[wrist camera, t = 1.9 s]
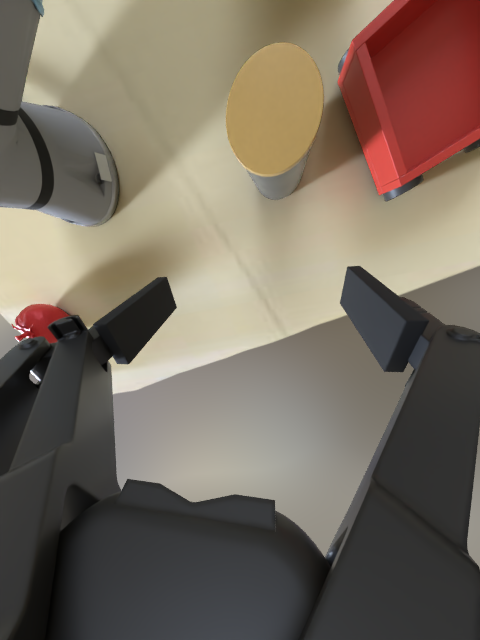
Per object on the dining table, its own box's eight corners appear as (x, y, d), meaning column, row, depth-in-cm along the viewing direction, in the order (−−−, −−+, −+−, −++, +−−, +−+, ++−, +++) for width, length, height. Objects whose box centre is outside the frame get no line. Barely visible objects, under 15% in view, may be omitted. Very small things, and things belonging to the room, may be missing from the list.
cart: (570, -137, 15) (773, -400, 9) (587, 78, 18) (739, 1, 12) (329, 82, 22) (346, 24, 16) (376, 205, 25) (404, 197, 19)
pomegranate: (45, 291, 44) (-10, 305, 36) (82, 316, 45) (37, 334, 37) (42, 321, 49) (-7, 340, 41) (76, 343, 49) (34, 365, 41)
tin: (244, 165, 27) (208, 104, 14) (289, 124, 24) (294, 5, 11) (268, 211, 28) (255, 194, 16) (313, 178, 26) (340, 126, 13)
